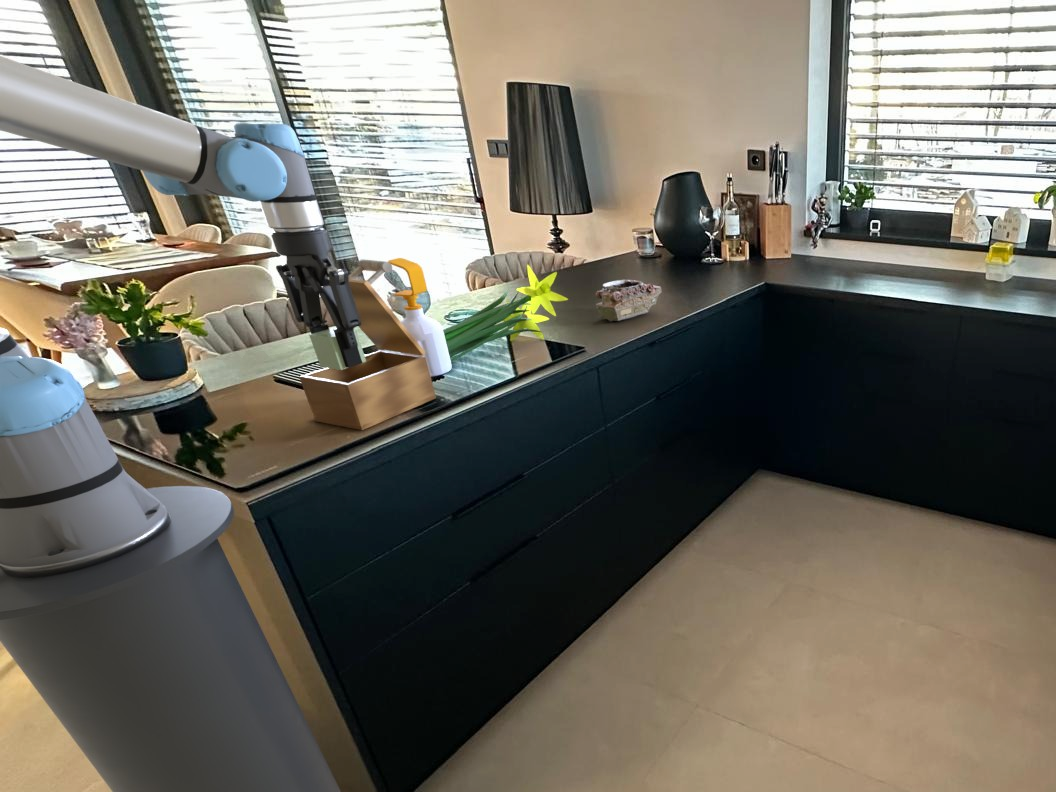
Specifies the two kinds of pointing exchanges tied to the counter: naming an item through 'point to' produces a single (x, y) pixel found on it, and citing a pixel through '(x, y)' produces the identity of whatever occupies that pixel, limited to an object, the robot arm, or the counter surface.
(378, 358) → the chest
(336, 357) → the block
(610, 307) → the decorative box
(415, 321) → the soap bottle
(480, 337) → the daffodil flowers
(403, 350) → the lid
